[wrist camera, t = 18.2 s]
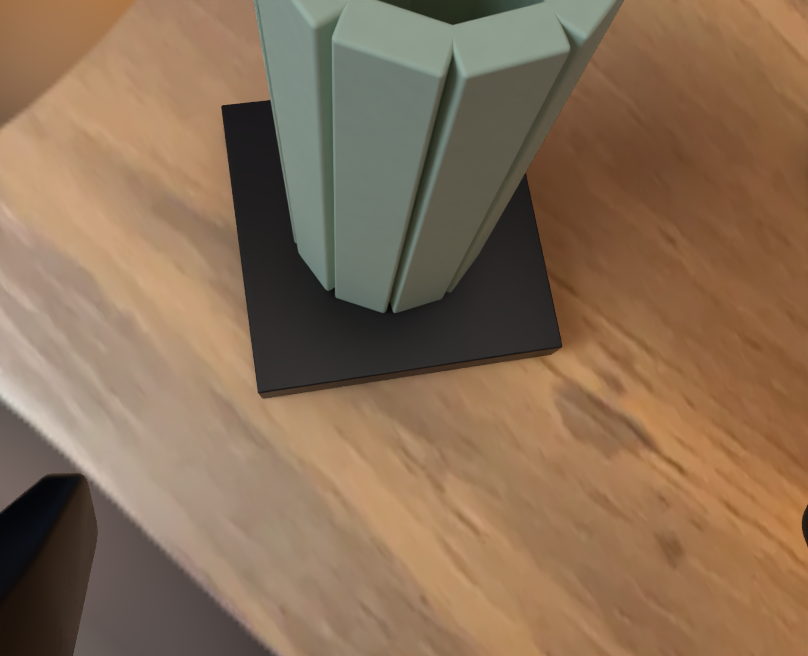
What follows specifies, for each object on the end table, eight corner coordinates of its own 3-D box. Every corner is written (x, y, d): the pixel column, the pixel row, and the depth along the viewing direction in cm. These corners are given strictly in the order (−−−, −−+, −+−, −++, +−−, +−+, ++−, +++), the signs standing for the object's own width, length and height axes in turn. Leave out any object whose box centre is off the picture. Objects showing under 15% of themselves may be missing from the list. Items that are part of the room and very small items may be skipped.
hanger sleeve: (453, 336, 23) (600, 128, 10) (265, 275, 22) (172, -13, 10) (504, 169, 24) (690, -204, 11) (327, 110, 24) (315, -331, 11)
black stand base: (261, 398, 23) (234, 363, 17) (226, 123, 25) (190, 1, 19) (551, 354, 24) (624, 305, 18) (497, 93, 26) (546, -31, 20)
